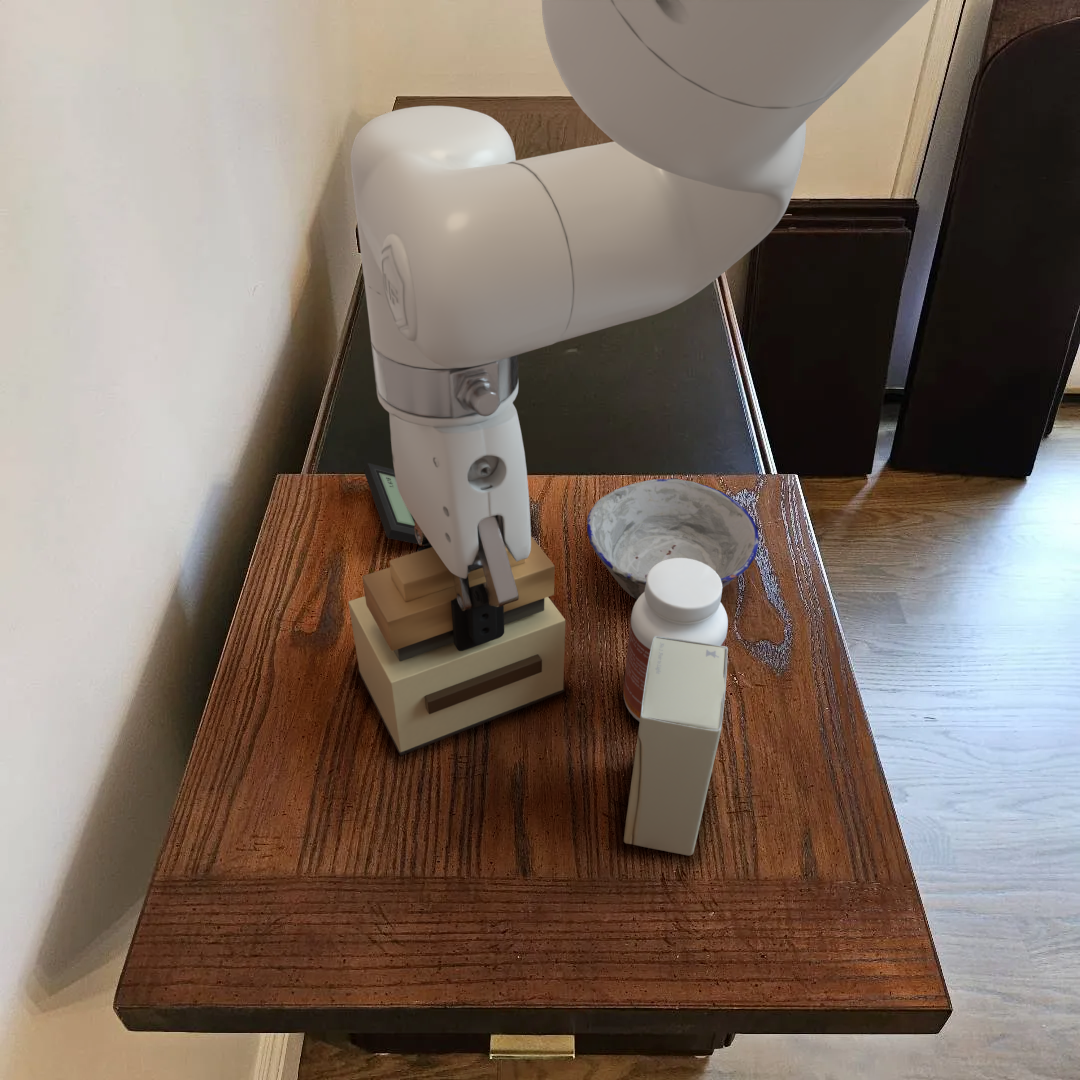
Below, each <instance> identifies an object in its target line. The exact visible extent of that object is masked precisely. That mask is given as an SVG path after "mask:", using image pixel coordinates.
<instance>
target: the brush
mask: <svg viewBox="0 0 1080 1080" xmlns="http://www.w3.org/2000/svg"><path fill="white" fill-rule="evenodd" d="M505 548H506V547H505ZM506 552H507V556H508V559H509V563H510V566H511V570H512V573H513V577H514V580H515V584H516V587H517V591H518V595H519V599H518V600H517V601H514V602H511V603H508V604H506V605H504V625H505V624H508V623H511V622H514V621H516V620H519V619H522V618H525V617H528V616H531V615H533V614H536V613H539V612H542V611H544V598H546V597H551V596H552V597H553V596H554V595H555V573H556V572H555V570H556V569H555V564H554V562H552V560H551V559H550V557H548V555H547V554H546V553H545V551H544V550H543V549H542V548H541V546H540V545H539V543H537V541H536V540H535V539H534V538H533V536H532V535H531V551H530V554H529V556H528V558H526V559H522V560H520V561H517V562H516V560H515V559H514V558H513V556H512V555H511V554H510V552H509V551H508V550H507V548H506ZM388 564H389V567H386V568H384V569H383V568H382V569H380V570H377V571H373V572H371V573H368V574H364V575H362V577H361V578H362V584H363V590H364V596H365V599H366V605H367V607H368V609H369V611H370V613H371V614H372V616H373V618H374V620H375V622H376V624H377V625H378V627H379V629H380V631H381V633H382V635H383V636H384V638H385V640H386V642H387V644H388V646H389V647H390V649H391V651H394V653H395V654H396V656H397V658H398V660H399V661H403V660H406V659H409V658H412V657H415V656H418V655H420V654H423V653H426V652H429V651H432V650H434V649H437V648H440V647H443V646H446V645H449V644H451V643H454V637H453V624H452V610H451V600H454V599H455V598H457V597H456V591H455V585H454V579H453V573H451V572H450V571H449V570H448V568H447V567H446V566H445V564H444V563H443V561H442V560H441V559H440V557H439V556H438V554H437V553H436V551H435V550H434V548H433V547H431V548H428V549H425V550H421V551H418V550H417V551H415V552H413V553H409V554H406V555H403V556H399V557H397V558H393V559H390V560H389V562H388ZM468 580H469V587H472V586H475V585H478V584H481V583H484V582H486V578H485V574H484V571H483V568H480V569H477V570H474V571H471V572H470V573H469V574H468Z"/></svg>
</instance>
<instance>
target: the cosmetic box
mask: <svg viewBox="0 0 1080 1080" xmlns="http://www.w3.org/2000/svg"><path fill="white" fill-rule="evenodd" d="M728 653H729V647H728V646H726V645H725V646H718V645H713V644H706V643H701V642H694V641H687V640H682V639H674V638H667V637H660V636H655V637H654V638H653V641H652V645H651V650H650V655H649V660H648V666H647V672H646V678H645V685H644V692H643V699H642V707H641V715H640V722H639V724H638V732H637V739H636V745H635V753H634V759H633V760H634V761H633V766H632V767H633V768H632V775H631V783H630V790H629V797H628V803H627V804H628V805H627V810H626V820H625V827H624V836H623V842H624V843H625V844H628V845H634V846H637V847H643V848H648V849H653V850H658V851H662V852H663V851H664V852H668V853H672V854H673V853H674V854H677V855H683V856H692V855H693V854H694V852H695V848H696V843H697V839H698V836H699V830H700V827H701V826H700V825H701V823H702V822H701V821H702V818H703V817H702V816H703V812H704V808H705V803H706V799H707V794H708V791H709V786H710V781H711V777H712V773H713V768H714V763H715V760H716V755H717V751H718V746H719V742H720V738H721V733H722V728H723V719H724V709H725V701H726V692H727V691H726V690H727V689H726V688H727V677H728V675H727V674H728V656H729V655H728Z"/></svg>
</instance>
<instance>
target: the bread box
mask: <svg viewBox="0 0 1080 1080" xmlns="http://www.w3.org/2000/svg"><path fill="white" fill-rule="evenodd" d="M549 597H550V596H549ZM549 597H546V598H544V611H542V612H539V613H536V614H533V615H531V616H528V617H525V618H522V619H519V620H516V621H514V622H511V623H508V624H505V625H504V634H503V636H501V637H500V638H498V639H495V640H492V641H489V642H487V643H484V644H481V645H478V646H475V647H473V648H470V649H467V650H464V651H458V650H457V648H456V646H455V645H454V643H451V644H449V645H446V646H443V647H440V648H437V649H434V650H432V651H429V652H426V653H423V654H420V655H418V656H415V657H412V658H409V659H406V660H403V661H399V660H398V658H397V656H396V654H395V653H394V651H391V649H390V647H389V646H388V644H387V642H386V640H385V638H384V636H383V635H382V633H381V631H380V629H379V627H378V625H377V624H376V622H375V620H374V618H373V616H372V614H371V613H370V611H369V609H368V607H367V605H366V599H365V595H364V596H361V597H358V598H354V599H352V600H349V601H348V609H349V615H350V621H351V622H350V623H351V627H352V634H353V640H354V646H355V652H356V658H357V663H358V670H357V671H358V675H359V677H360V678H361V680H362V682H363V685H364V686H365V688H366V690H367V692H368V695H369V696H370V698H371V700H372V702H373V705H374V706H375V708H376V711H377V712H378V714H379V717H380V718H381V720H382V722H383V725H384V727H385V728H386V730H387V732H388V735H389V736H390V739H391V741H392V743H393V745H394V747H395V749H396V751H397V752H398V755H399V756H400V757H401V756H403V755H406V754H409V753H411V752H414V751H417V750H419V749H422V748H424V747H426V746H429V745H432V744H434V743H437V742H440V741H442V740H446V739H447V738H449V737H450V738H451V737H452V736H455V735H458V734H460V733H463V732H465V731H468V730H470V729H473V728H475V727H478V726H481V725H483V724H486V723H488V722H491V721H494V720H497V719H499V718H501V717H504V716H506V715H509V714H511V713H514V712H517V711H520V710H523V709H525V708H528V707H530V706H532V705H535V704H537V703H540V702H542V701H546V700H548V699H550V698H553V697H556V696H558V695H561V694H563V693H565V688H564V678H565V677H564V676H565V674H564V673H565V646H566V644H565V643H566V619H565V618H564V616H563V615H562V613H561V612H560V610H559V609H558V608H557V607H556V605H555V604H554V603H553V601H552V600H551V598H549Z"/></svg>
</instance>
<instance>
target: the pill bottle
mask: <svg viewBox="0 0 1080 1080" xmlns="http://www.w3.org/2000/svg"><path fill="white" fill-rule="evenodd" d="M722 593H723V588H722V582H721V579H720V577H719V576H718V574H717V573H716V572H715V571H714V570H713V569H712V568H711V567H709V566H708V565H706V564H704V563H702V562H699V561H697V560H693V559H688V558H672V559H667V560H664V561H661V562H659V563H658V564H656V565H655V566H654V567H653V568H652V569H651V570H650V571H649V573H648V576H647V580H646V586H645V592H644V593H643V594H641V596H640V597H639V598H638V599H637V600H636V601H635V602H634V605H633V607H632V610H631V616H630V622H629V633H628V641H627V642H628V643H627V653H626V663H625V673H624V682H623V700H624V703H625V706H626V707H625V708H627V710H628V712H629V713H630V715H631V716H632V717H633V718H634V719H635V720H636V721H637V722H639V723H640V715H641V707H642V699H643V692H644V685H645V678H646V672H647V666H648V660H649V655H650V650H651V645H652V641H653V638H654V637H655V636H660V637H667V638H674V639H682V640H687V641H694V642H701V643H706V644H713V645H718V646H726V641H727V635H728V628H729V618H728V614H727V611H726V609H725V607H724V605H723V603H722V602H721V600H722V596H723V595H722Z"/></svg>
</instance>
